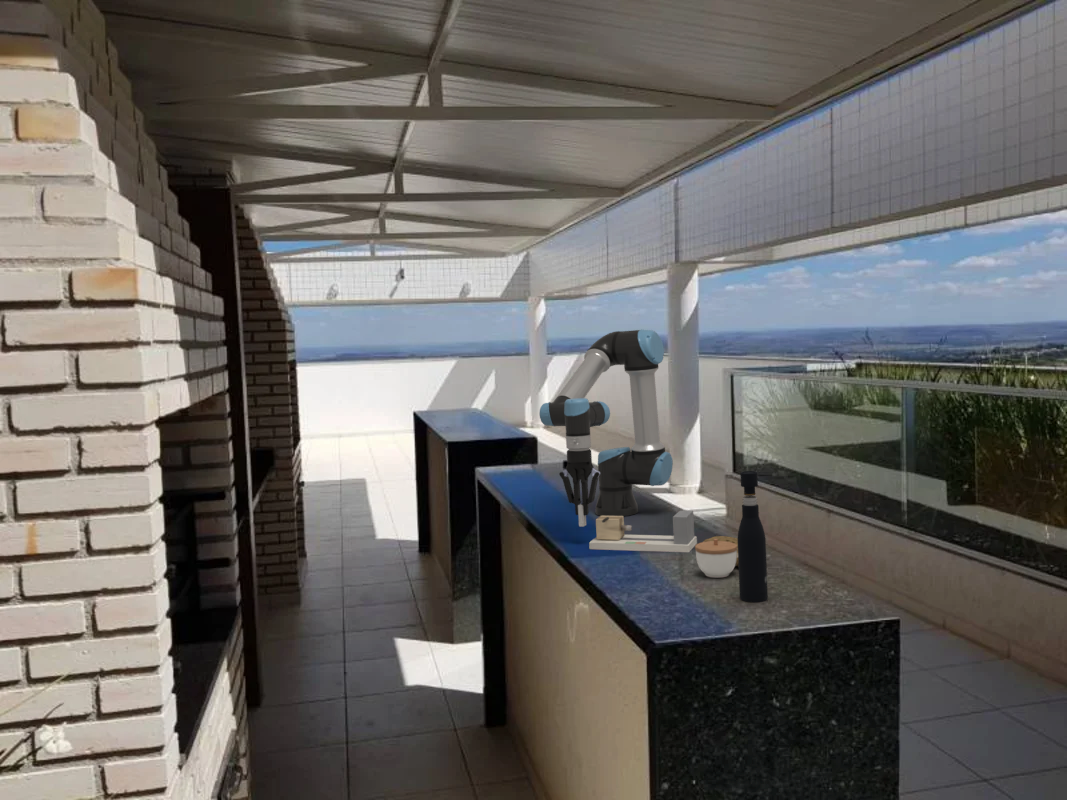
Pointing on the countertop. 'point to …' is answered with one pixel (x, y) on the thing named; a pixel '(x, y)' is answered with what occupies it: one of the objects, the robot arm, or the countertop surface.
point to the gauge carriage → (611, 527)
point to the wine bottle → (751, 545)
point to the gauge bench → (656, 538)
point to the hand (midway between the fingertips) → (582, 525)
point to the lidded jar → (716, 557)
